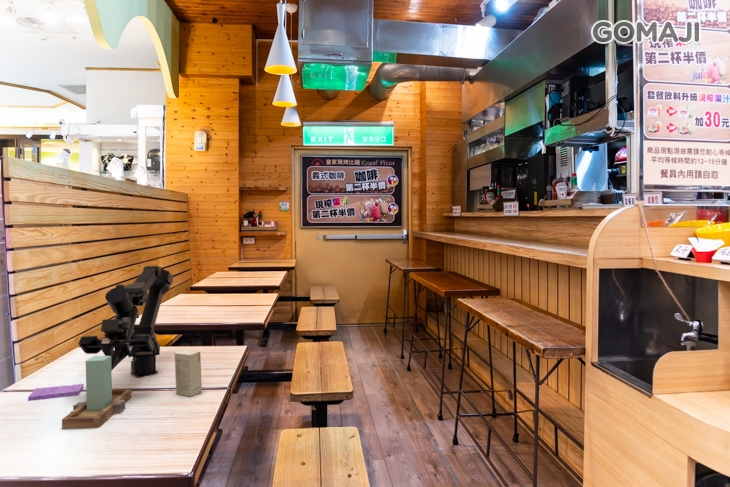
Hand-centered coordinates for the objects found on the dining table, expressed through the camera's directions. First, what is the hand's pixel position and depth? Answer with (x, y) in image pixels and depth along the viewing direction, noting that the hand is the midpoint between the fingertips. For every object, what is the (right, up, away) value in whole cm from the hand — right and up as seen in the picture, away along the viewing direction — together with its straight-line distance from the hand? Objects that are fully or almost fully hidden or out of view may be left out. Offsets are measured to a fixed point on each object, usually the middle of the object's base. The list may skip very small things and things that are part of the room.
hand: (108, 371), depth 127 cm
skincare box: (+19, -9, +9) cm, 23 cm away
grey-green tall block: (+1, -8, -5) cm, 10 cm away
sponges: (-19, -10, +8) cm, 23 cm away
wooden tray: (+1, -9, -5) cm, 11 cm away
